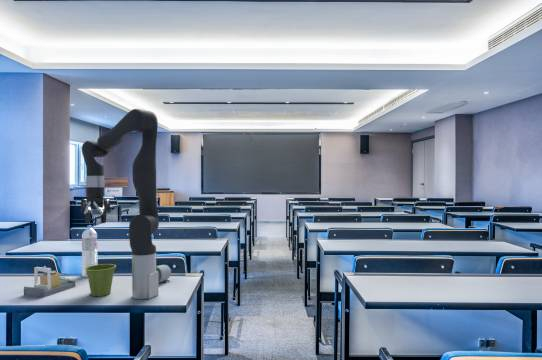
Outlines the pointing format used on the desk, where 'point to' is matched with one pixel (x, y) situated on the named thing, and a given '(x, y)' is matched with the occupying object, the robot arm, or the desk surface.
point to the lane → (41, 293)
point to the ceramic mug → (163, 272)
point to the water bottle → (89, 249)
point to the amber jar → (54, 279)
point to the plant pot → (100, 278)
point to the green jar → (64, 281)
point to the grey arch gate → (48, 270)
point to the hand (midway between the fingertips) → (95, 222)
